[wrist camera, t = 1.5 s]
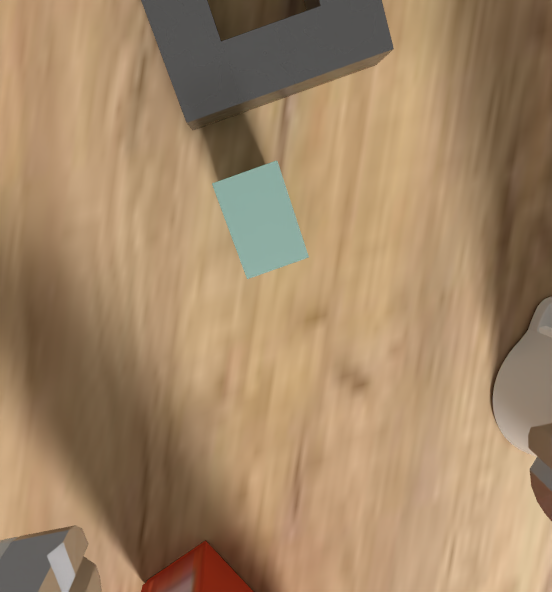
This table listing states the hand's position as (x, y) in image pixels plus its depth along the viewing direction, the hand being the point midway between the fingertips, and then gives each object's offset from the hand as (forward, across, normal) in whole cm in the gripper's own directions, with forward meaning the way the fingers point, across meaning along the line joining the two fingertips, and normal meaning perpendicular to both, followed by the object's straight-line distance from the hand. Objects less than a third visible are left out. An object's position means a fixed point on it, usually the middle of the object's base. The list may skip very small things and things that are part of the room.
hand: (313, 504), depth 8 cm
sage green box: (+30, -1, -3) cm, 30 cm away
